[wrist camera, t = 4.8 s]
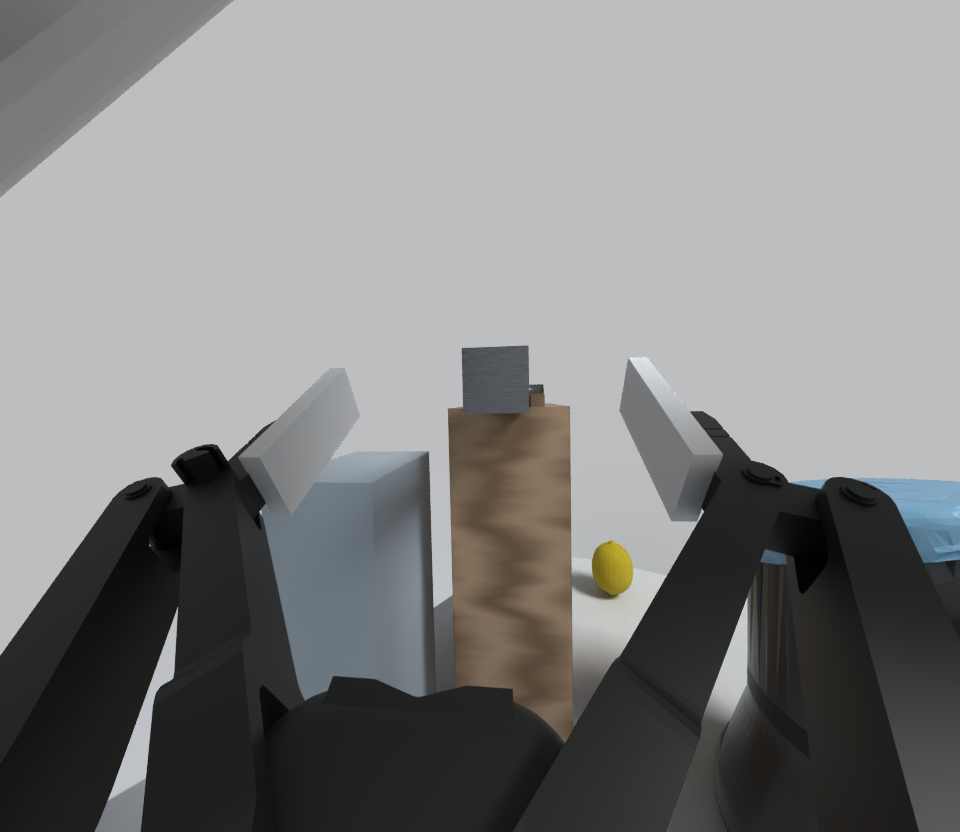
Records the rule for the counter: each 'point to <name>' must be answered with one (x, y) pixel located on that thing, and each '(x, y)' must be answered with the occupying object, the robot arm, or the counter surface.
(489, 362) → the dark grey bar
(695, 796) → the counter surface
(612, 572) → the lemon
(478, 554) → the walnut stand
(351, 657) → the block
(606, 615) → the counter surface
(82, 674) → the robot arm
